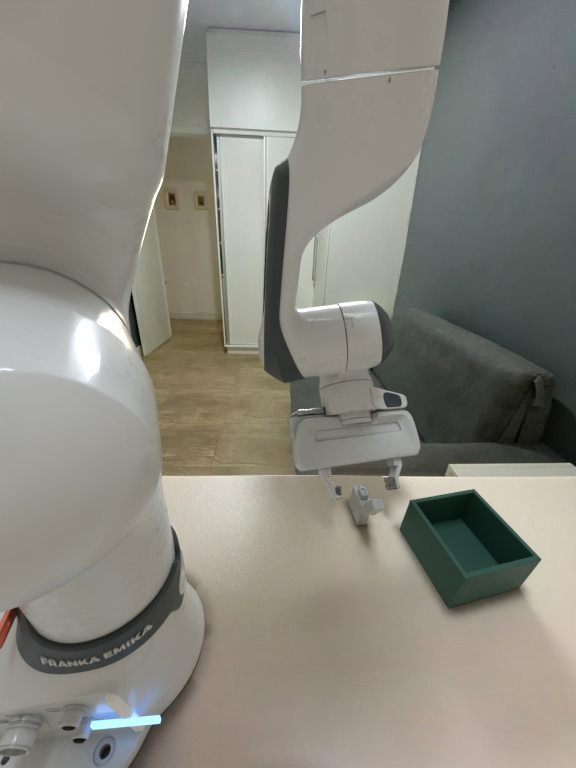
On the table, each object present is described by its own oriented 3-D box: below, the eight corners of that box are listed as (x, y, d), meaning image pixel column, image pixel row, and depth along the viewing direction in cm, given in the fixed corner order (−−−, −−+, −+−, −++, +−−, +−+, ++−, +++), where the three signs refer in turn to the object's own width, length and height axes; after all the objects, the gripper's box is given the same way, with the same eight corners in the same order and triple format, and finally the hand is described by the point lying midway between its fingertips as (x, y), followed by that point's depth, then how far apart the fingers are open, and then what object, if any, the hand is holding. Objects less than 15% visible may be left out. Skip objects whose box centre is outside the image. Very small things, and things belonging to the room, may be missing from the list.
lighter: (348, 503, 51) (356, 467, 47) (358, 502, 52) (367, 467, 48) (363, 543, 45) (374, 506, 41) (374, 541, 46) (386, 505, 42)
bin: (448, 608, 38) (465, 579, 35) (399, 528, 48) (409, 500, 44) (519, 588, 41) (542, 559, 38) (460, 516, 50) (474, 488, 47)
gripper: (291, 406, 44) (304, 508, 41) (415, 395, 49) (436, 485, 46) (282, 414, 50) (294, 503, 47) (394, 403, 55) (411, 483, 52)
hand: (365, 494), depth 46 cm, fingers open, 8 cm apart
